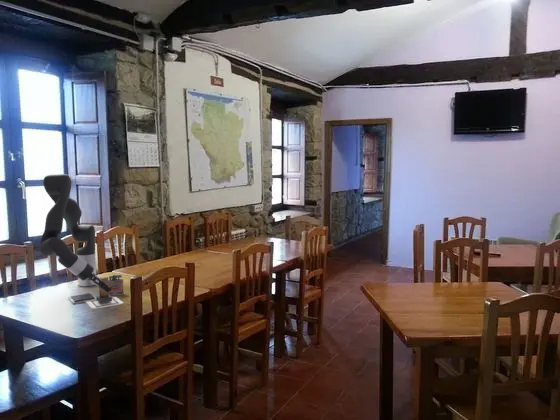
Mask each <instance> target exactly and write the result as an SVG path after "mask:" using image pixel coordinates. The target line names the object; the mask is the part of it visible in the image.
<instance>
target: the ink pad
mask: <svg viewBox="0 0 560 420" xmlns="http://www.w3.org/2000/svg"><path fill="white" fill-rule="evenodd" d="M67 299H68V301H70V303H71V304H72V305H77V304H78V305H79V304H83V303H85V304H86V302H89V301H94V300H97V299H96V296H95V295H94V294H92V293H82V294H77V295H70V296H69V297H68V298H67Z"/></svg>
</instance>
